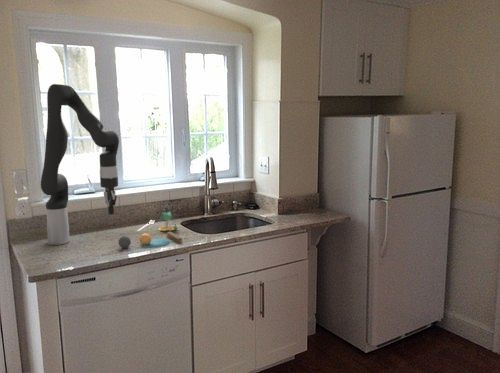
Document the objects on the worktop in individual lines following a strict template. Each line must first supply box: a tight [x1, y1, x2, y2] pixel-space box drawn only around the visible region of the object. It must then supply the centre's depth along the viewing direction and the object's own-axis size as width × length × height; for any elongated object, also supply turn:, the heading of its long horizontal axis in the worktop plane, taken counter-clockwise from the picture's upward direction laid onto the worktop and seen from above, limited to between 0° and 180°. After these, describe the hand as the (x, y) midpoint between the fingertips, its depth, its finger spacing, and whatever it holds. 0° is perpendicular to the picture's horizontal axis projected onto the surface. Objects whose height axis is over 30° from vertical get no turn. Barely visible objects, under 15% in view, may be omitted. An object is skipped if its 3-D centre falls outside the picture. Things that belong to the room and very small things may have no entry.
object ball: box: [139, 232, 152, 245], centre depth 209 cm, size 6×6×6 cm
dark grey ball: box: [118, 235, 132, 249], centre depth 205 cm, size 6×6×6 cm
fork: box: [136, 219, 155, 232], centre depth 243 cm, size 3×20×2 cm, turn 169°
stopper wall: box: [166, 231, 183, 245], centre depth 217 cm, size 2×14×2 cm, turn 32°
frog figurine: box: [158, 204, 180, 234], centre depth 235 cm, size 10×18×15 cm, turn 31°
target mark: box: [139, 238, 171, 249], centre depth 212 cm, size 14×14×1 cm
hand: (111, 214), depth 199 cm, fingers closed
